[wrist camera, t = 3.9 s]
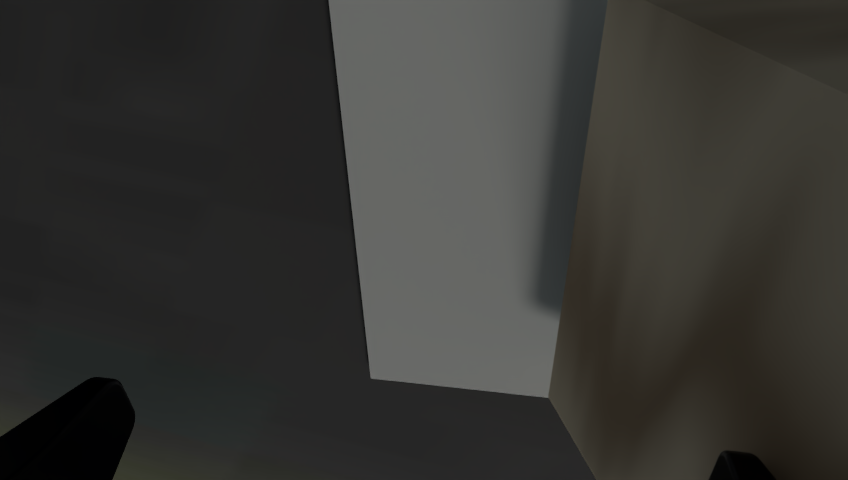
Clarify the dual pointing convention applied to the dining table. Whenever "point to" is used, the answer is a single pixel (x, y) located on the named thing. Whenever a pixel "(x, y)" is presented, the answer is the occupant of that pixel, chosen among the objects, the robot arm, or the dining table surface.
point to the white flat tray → (465, 179)
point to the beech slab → (711, 244)
